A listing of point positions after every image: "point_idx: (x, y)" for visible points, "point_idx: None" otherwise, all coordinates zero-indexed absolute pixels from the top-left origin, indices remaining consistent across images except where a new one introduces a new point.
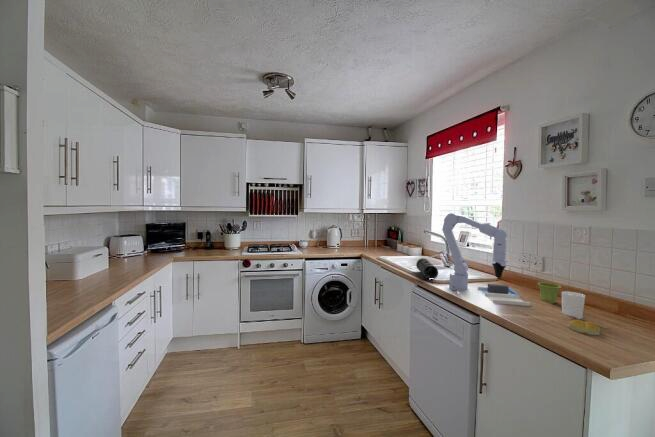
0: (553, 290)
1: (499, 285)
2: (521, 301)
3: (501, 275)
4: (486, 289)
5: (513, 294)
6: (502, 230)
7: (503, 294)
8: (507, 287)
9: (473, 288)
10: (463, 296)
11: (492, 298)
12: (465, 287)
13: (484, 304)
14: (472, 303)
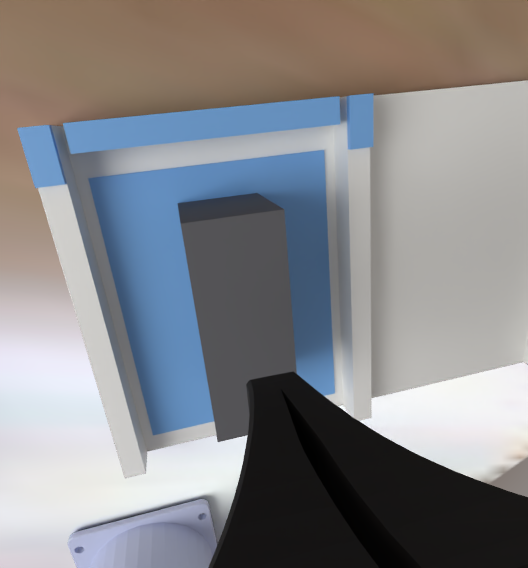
0: None
1: (265, 320)
2: (464, 116)
3: (311, 386)
4: (129, 389)
5: (259, 133)
6: None
7: (368, 268)
8: (281, 220)
9: (34, 477)
10: None
11: (424, 355)
12: (199, 555)
13: (515, 401)
14: (505, 461)
